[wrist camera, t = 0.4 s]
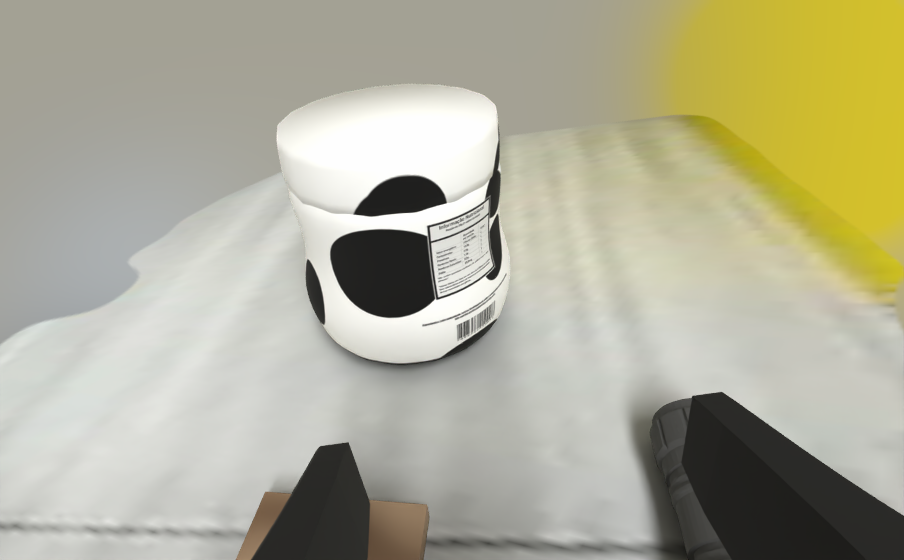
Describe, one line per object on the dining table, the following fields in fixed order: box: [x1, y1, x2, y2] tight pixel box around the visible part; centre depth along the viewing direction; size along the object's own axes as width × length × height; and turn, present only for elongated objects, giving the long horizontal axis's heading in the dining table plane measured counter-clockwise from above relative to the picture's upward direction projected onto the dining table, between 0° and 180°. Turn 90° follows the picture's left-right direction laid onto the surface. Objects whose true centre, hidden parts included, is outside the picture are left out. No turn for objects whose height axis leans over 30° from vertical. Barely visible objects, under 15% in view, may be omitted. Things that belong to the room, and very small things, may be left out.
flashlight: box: [650, 398, 732, 560], centre depth 23 cm, size 15×5×5 cm, turn 172°
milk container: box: [277, 84, 510, 365], centre depth 37 cm, size 17×17×18 cm
